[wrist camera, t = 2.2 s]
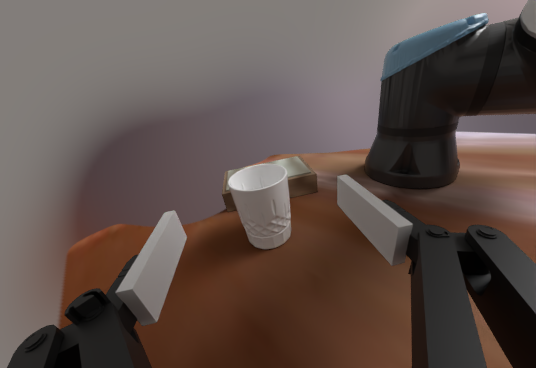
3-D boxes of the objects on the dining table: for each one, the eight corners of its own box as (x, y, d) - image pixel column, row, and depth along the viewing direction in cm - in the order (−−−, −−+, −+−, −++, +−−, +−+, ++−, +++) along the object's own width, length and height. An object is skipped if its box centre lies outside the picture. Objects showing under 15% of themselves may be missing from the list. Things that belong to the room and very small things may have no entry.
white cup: (234, 246, 28) (215, 188, 24) (259, 214, 34) (247, 163, 30) (284, 259, 25) (271, 193, 20) (301, 221, 31) (295, 164, 26)
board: (301, 171, 48) (299, 154, 46) (317, 191, 38) (316, 172, 36) (229, 186, 47) (224, 170, 45) (227, 211, 37) (221, 192, 35)
